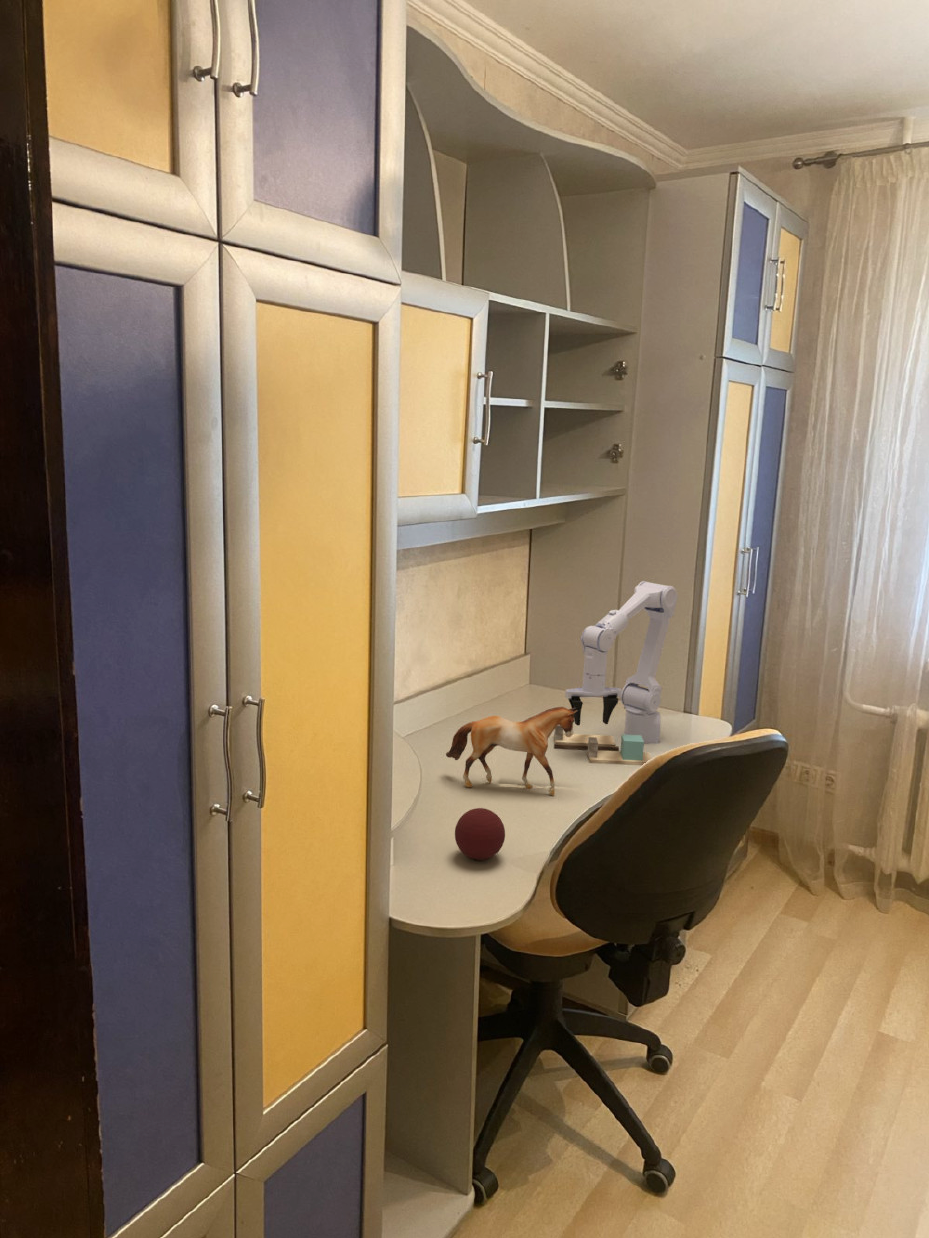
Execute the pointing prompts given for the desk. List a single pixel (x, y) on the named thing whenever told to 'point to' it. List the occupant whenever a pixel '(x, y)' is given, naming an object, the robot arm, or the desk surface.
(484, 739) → the horse figurine
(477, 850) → the decorative ball
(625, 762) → the strip
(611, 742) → the empty strip
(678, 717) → the desk surface
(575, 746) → the lane board
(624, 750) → the teal cube
